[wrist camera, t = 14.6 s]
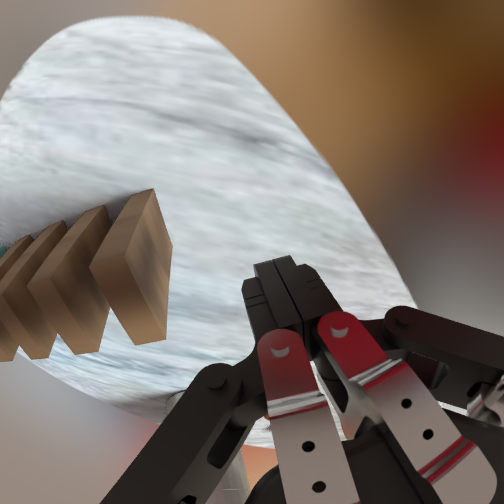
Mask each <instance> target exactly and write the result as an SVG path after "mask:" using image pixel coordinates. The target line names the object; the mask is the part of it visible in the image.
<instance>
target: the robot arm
mask: <svg viewBox="0 0 504 504" xmlns="http://www.w3.org/2000/svg"><path fill="white" fill-rule="evenodd" d="M253 266H254V272H255V277H254V278H250V279H246V280H244V282H243V285H242V289H241V291H242V294H243V298H244V302H245V306H246V310H247V314H248V318H249V321H250V325H251V328H252V332H253V335H254V339H255V347H254V349H253V351H252V353H251V354H250V355H249V356H248V357H247V358H246V359H244V360H243V361H241V362H239V363H237V364H236V365H234V366H231V365H229V364H225V363H216V364H211V365H209V366H206V367H205V368H203V369H202V370H201V371H200V372H199V373H198V374H197V375H196V377H195V378H194V380H193V381H192V382H191V384H190V385H189V387H188V388H187V389H186V391H184V392H180V393H177V394H175V395H173V396H172V397H170V398H169V399H168V401H167V417H166V418H165V419H164V421H163V422H162V424H161V425H160V426H159V428H158V429H157V430H156V432H155V433H154V434H153V436H152V437H151V438H150V440H149V441H148V442H147V444H146V445H145V446H144V448H143V449H142V450H141V451H140V453H139V454H138V455H137V457H136V458H135V459H134V461H133V462H132V463H131V465H130V466H129V467H128V468H127V470H126V471H125V472H124V474H123V475H122V476H121V477H120V479H119V480H118V482H117V483H116V484H115V485H114V486H113V488H112V489H111V490H110V491H109V493H108V494H107V495H106V496H105V498H104V499H103V500H102V501H101V503H100V504H504V337H503V336H500V335H496V334H493V333H490V332H487V331H484V330H481V329H477V328H474V327H471V326H468V325H465V324H462V323H458V322H455V321H452V320H449V319H446V318H443V317H439V316H437V315H433V314H430V313H427V312H424V311H421V310H418V309H415V308H412V307H408V306H396V307H393V308H391V309H390V310H388V311H387V313H386V314H385V317H384V319H376V320H358V319H357V318H356V317H355V316H354V315H352V314H350V313H348V312H344V311H343V310H342V308H341V307H340V305H339V304H338V302H337V301H336V300H335V298H334V297H333V295H332V294H331V292H330V291H329V289H328V288H327V286H325V283H324V282H323V280H322V279H321V278H320V276H319V275H318V273H317V272H316V270H315V269H313V268H312V267H310V266H308V265H307V264H302V265H298V266H297V265H296V264H295V262H294V261H293V259H292V257H291V256H290V255H288V256H284V257H280V258H277V259H273V260H269V261H265V262H262V263H258V264H254V265H253ZM418 354H419V355H418ZM421 355H422V356H421ZM424 356H425V357H424ZM427 357H428V358H427ZM430 358H431V359H430ZM433 359H434V360H433ZM436 360H437V361H436ZM310 361H314V363H315V365H316V368H317V378H318V380H319V382H320V384H321V385H322V387H323V389H324V391H325V393H326V394H327V396H328V398H329V400H330V402H331V403H332V405H333V407H334V409H335V410H336V412H337V414H338V416H339V418H340V422H341V427H342V430H343V432H344V435H345V437H346V438H347V440H346V441H341V440H340V437H339V434H338V431H337V428H336V425H335V422H334V419H333V416H332V413H331V410H330V407H329V405H328V402H327V400H326V397H325V396H324V394H321V392H320V390H319V388H318V385H317V382H316V379H315V376H314V373H313V370H312V367H311V364H310ZM436 400H437V401H440V402H443V403H447V404H450V405H453V406H456V407H460V408H463V409H466V410H467V411H468V412H467V414H466V416H465V415H462V414H459V413H456V412H453V411H450V410H448V409H444V408H441V406H440V405H439V404H438V402H437V401H436ZM266 414H269V420H270V425H271V430H272V435H273V440H274V445H275V450H276V455H277V460H278V465H276V466H275V467H274V468H272V469H271V470H269V471H268V472H267V473H266V474H265V475H264V476H263V477H262V478H261V479H260V480H259V481H258V482H257V484H256V485H255V486H254V488H253V489H252V491H251V489H250V484H249V480H248V477H247V473H246V469H245V464H244V460H243V456H242V451H241V446H242V445H243V443H244V441H245V440H246V438H247V436H248V434H249V433H250V431H251V429H252V427H253V425H254V423H255V421H256V420H258V419H260V418H261V417H263V416H265V415H266Z"/></svg>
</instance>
